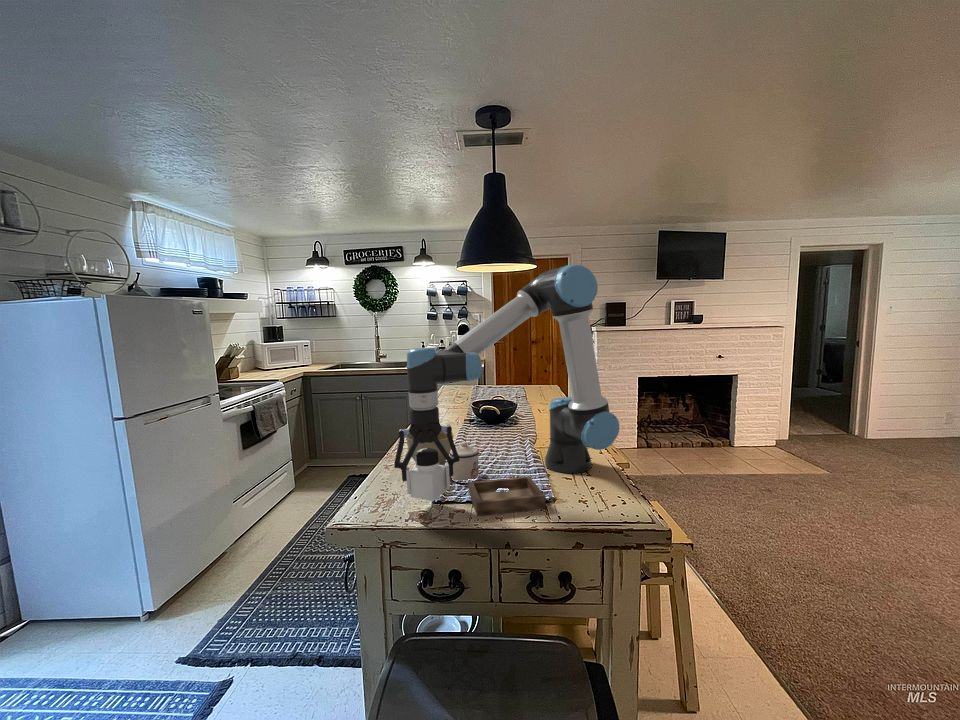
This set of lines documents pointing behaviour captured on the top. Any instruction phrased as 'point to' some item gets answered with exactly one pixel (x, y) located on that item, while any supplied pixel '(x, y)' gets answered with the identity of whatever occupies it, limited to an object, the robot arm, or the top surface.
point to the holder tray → (506, 496)
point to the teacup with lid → (465, 462)
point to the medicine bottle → (427, 476)
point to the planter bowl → (431, 446)
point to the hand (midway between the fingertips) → (428, 489)
